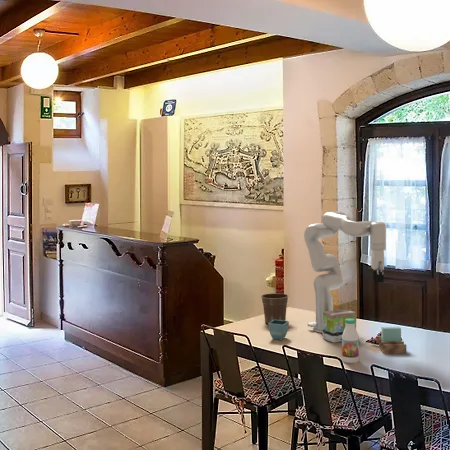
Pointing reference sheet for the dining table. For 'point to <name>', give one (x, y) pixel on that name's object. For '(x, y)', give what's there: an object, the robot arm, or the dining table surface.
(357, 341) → the milk bottle
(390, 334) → the mint green block
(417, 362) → the dining table surface
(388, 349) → the rack
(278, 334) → the flower pot
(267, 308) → the plant pot
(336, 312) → the tea box
